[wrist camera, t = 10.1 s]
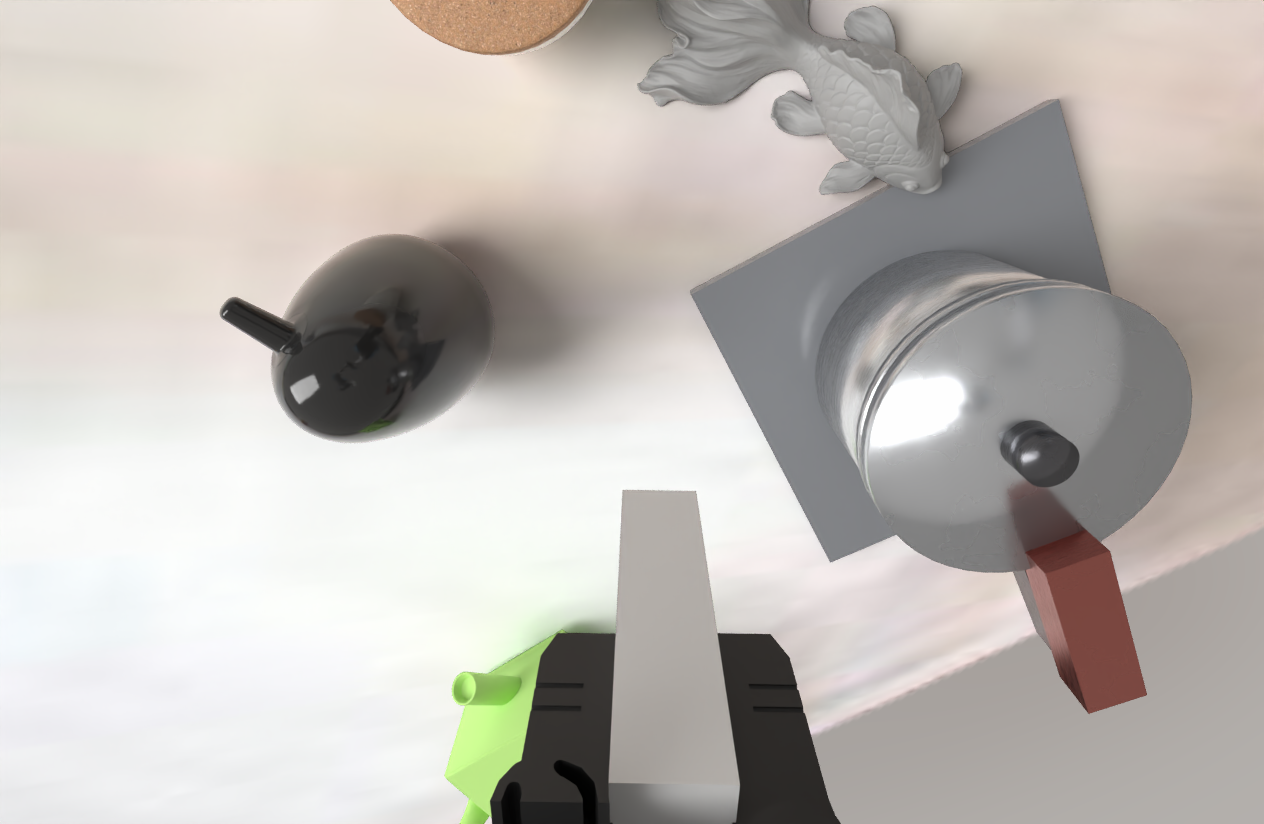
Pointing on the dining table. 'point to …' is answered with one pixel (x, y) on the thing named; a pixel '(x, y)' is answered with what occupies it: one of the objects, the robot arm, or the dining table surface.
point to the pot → (901, 338)
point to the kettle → (491, 728)
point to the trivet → (859, 247)
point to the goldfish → (815, 84)
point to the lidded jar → (494, 22)
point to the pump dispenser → (375, 339)
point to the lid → (1034, 455)
